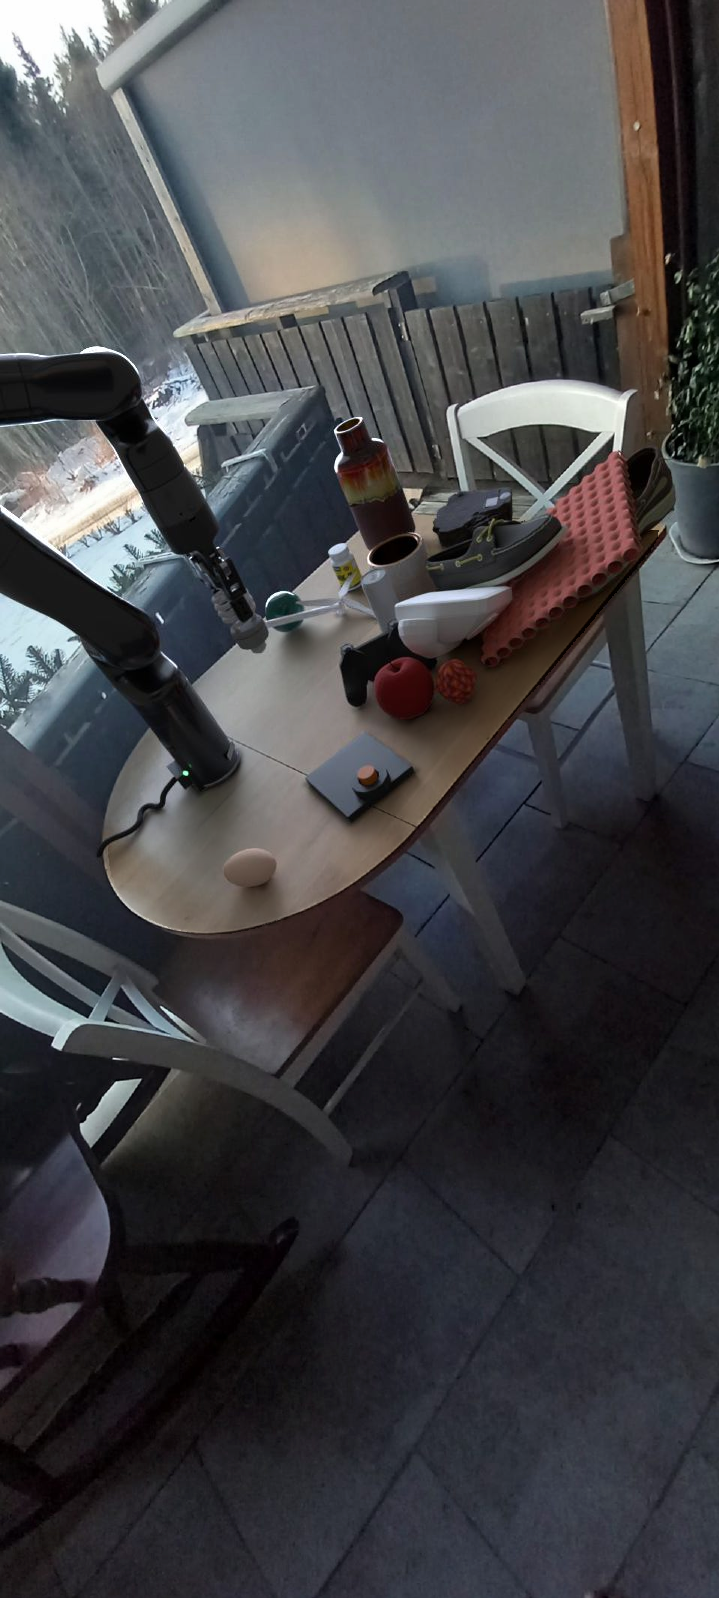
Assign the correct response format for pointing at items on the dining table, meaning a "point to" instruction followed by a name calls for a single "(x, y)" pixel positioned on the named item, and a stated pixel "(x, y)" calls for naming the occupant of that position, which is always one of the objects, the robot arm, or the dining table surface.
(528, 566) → the boat shoe
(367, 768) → the button
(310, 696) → the dining table surface
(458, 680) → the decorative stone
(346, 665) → the game controller
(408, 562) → the planter
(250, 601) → the light bulb
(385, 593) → the beverage can
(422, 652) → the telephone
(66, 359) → the robot arm
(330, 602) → the wind turbine
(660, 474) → the boat shoe
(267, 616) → the sphere
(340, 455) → the vase
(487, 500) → the rock sample
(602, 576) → the egg carton
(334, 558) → the supplement bottle
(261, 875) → the egg
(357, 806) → the push button pad
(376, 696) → the apple
